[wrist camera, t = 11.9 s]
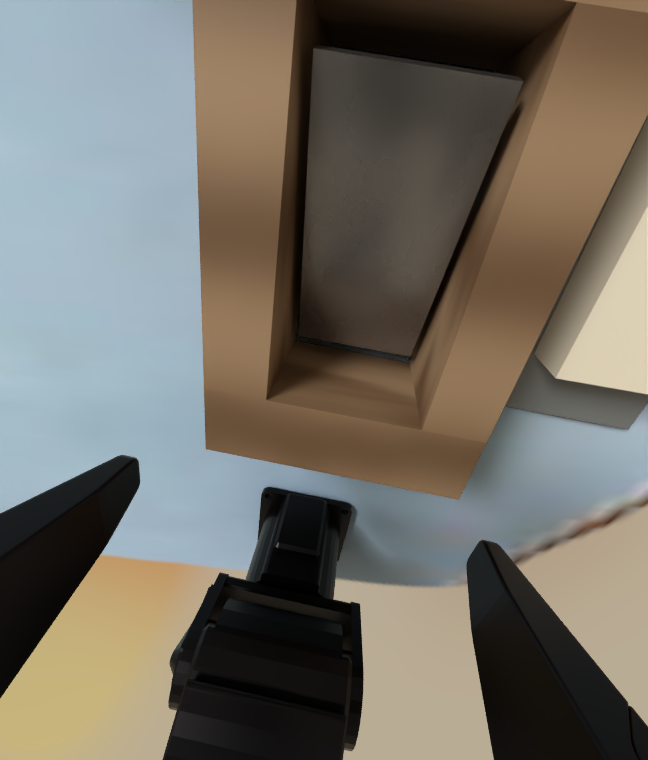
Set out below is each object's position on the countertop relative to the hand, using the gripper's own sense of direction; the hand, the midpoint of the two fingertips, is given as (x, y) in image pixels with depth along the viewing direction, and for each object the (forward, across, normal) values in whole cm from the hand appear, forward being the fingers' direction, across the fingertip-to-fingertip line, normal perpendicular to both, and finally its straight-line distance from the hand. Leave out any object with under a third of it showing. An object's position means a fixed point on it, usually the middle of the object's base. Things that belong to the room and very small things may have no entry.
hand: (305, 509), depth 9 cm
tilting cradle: (+8, 0, -6) cm, 10 cm away
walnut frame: (+12, 0, -6) cm, 13 cm away
